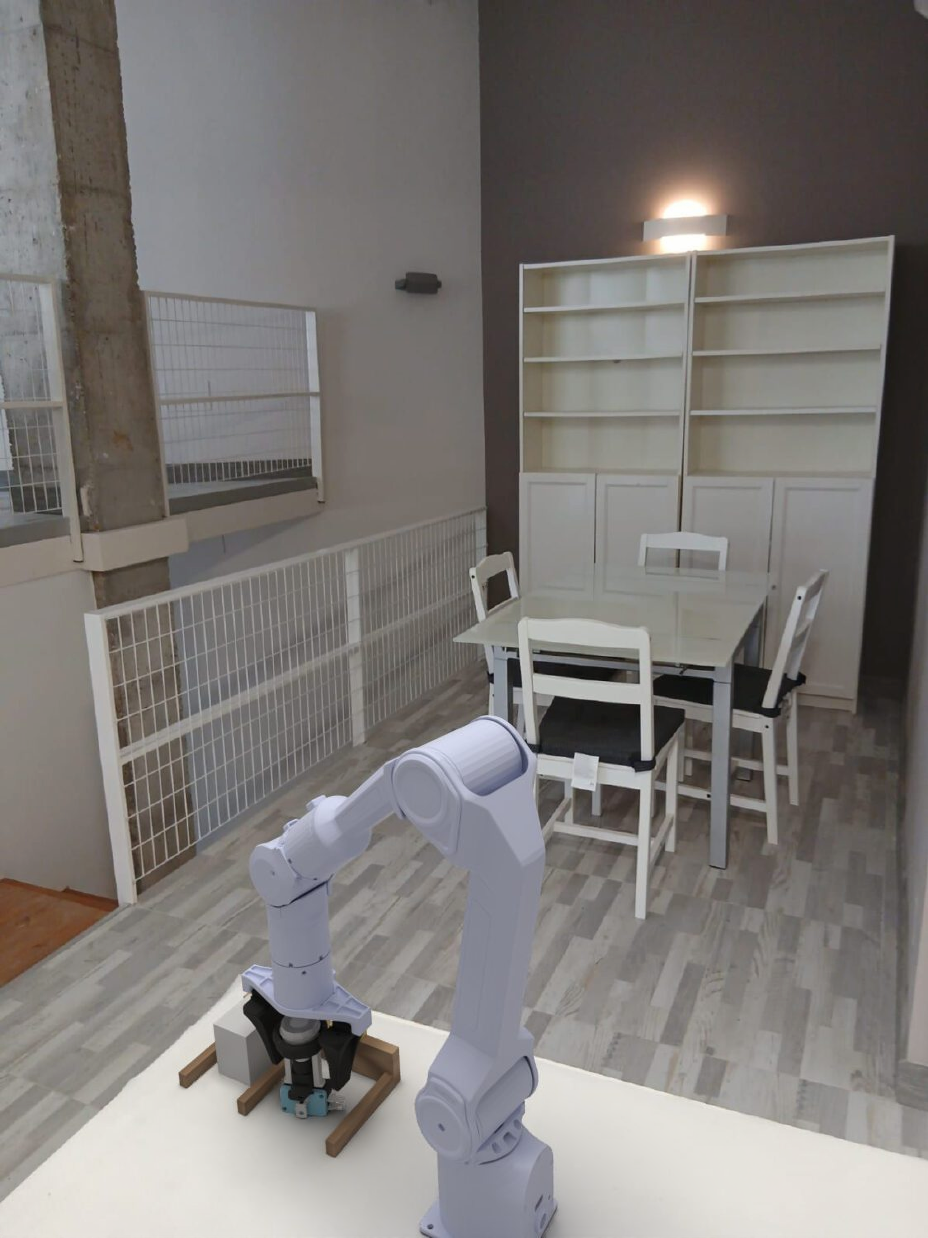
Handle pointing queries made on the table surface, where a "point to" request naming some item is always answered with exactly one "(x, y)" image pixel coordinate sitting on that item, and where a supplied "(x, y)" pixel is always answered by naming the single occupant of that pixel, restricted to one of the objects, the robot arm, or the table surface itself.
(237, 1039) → the grey plug block
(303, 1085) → the push button
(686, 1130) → the table surface
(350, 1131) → the wooden bench frame
